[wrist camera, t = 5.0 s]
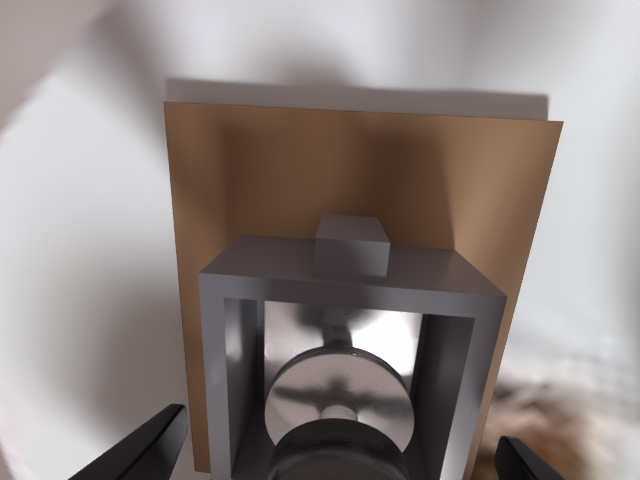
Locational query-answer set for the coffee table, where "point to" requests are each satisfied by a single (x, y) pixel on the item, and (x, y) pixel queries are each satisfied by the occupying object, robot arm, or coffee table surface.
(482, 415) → the board
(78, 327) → the coffee table surface
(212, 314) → the press
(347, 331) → the plunger
